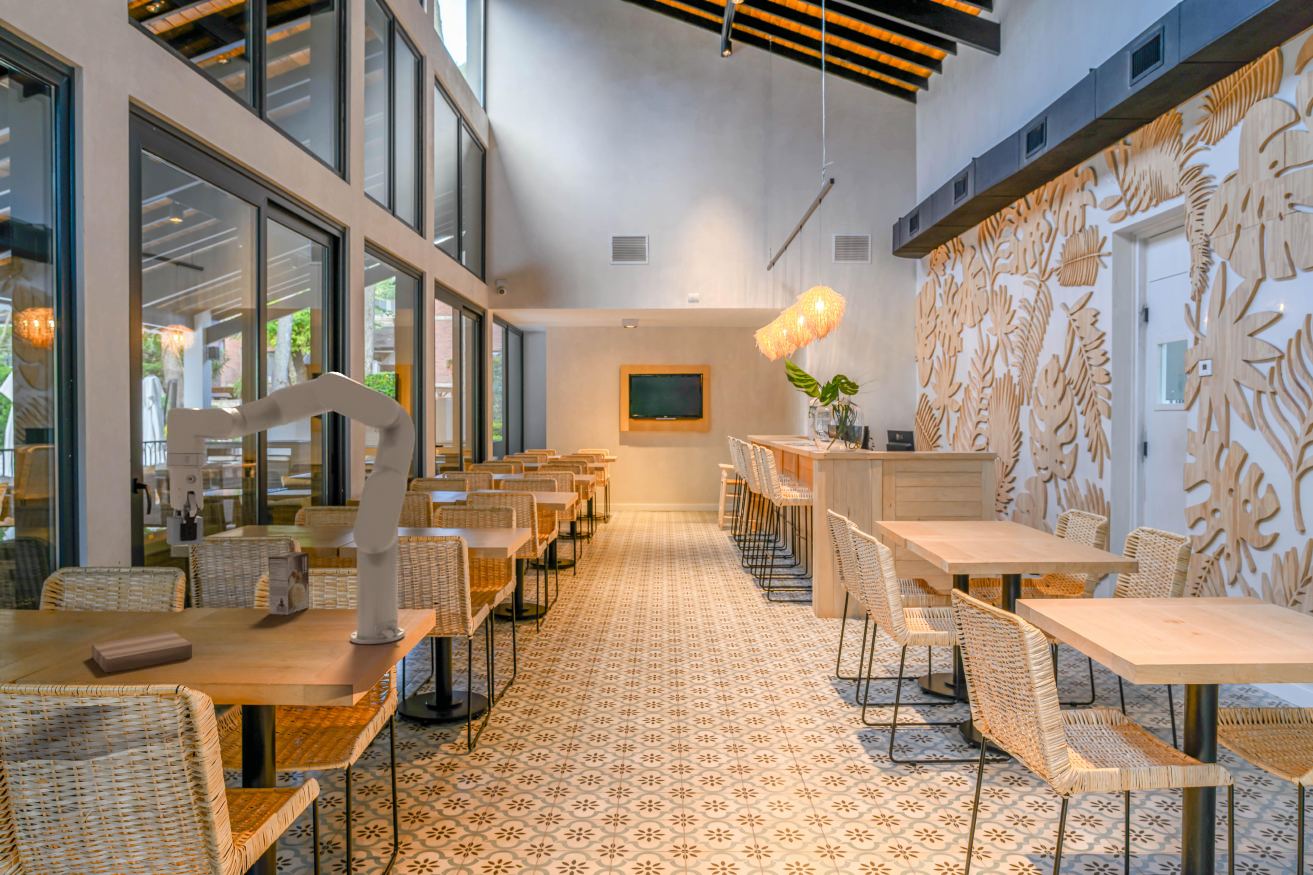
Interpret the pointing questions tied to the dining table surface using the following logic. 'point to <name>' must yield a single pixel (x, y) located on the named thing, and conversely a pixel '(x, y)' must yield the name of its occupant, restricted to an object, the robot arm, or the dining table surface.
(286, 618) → the dining table surface
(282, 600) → the coffee box
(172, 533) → the light grey cube
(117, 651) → the walnut base
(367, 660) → the dining table surface
